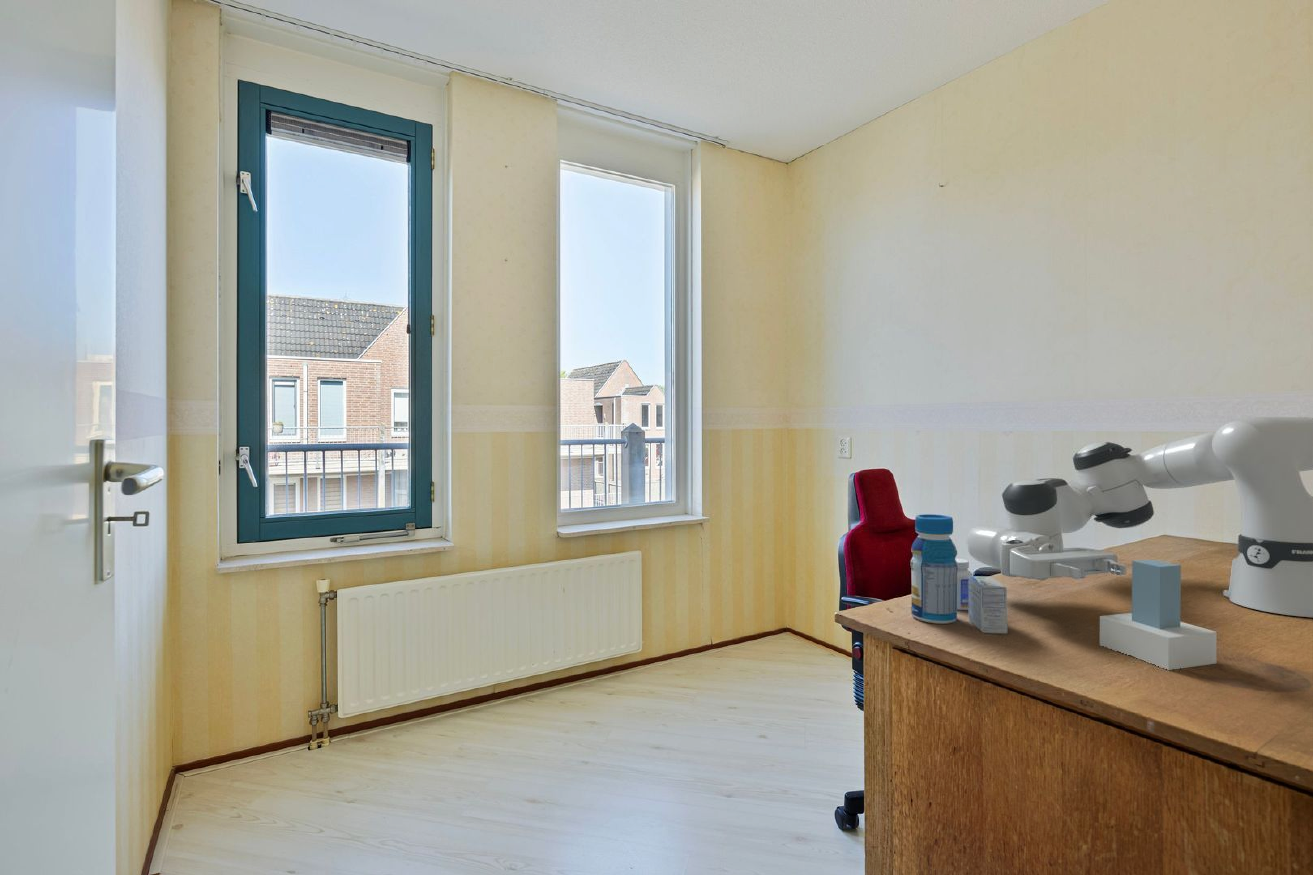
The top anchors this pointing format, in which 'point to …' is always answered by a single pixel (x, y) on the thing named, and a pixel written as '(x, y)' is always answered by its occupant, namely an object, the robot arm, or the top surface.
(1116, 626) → the block
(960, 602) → the pill bottle
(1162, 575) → the block
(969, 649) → the top surface
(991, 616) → the medicine box
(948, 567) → the beverage bottle
